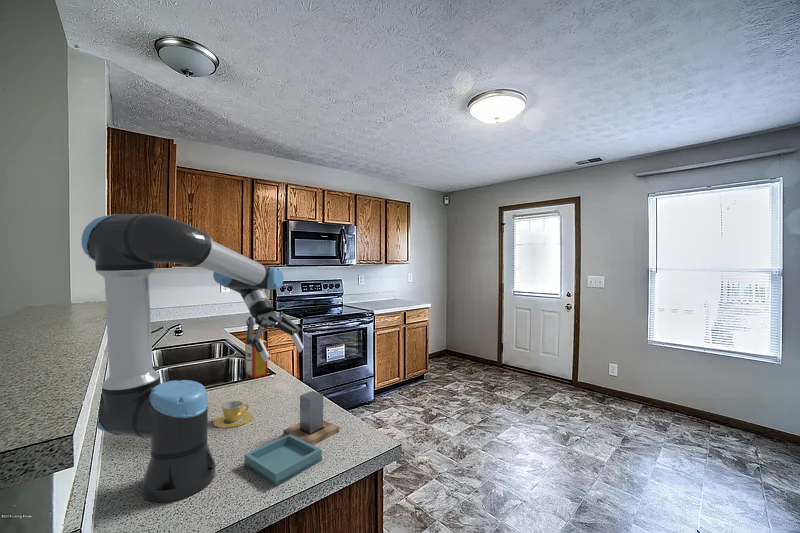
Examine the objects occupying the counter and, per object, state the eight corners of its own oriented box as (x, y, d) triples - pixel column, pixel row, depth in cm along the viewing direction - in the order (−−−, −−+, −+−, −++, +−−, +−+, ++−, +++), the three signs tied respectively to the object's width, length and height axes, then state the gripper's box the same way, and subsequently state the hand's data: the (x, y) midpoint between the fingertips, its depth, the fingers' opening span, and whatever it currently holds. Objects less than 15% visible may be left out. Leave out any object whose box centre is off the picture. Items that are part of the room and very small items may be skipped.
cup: (218, 432, 111) (218, 415, 111) (209, 419, 120) (209, 403, 120) (257, 421, 119) (257, 405, 119) (246, 409, 128) (245, 394, 128)
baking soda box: (267, 375, 164) (267, 341, 164) (253, 378, 160) (252, 343, 159) (259, 370, 171) (259, 337, 171) (245, 373, 167) (245, 339, 166)
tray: (276, 486, 85) (276, 474, 85) (244, 465, 93) (244, 454, 93) (321, 460, 96) (321, 449, 96) (289, 443, 105) (289, 433, 105)
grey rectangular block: (310, 439, 108) (310, 399, 107) (299, 434, 111) (299, 395, 110) (323, 432, 112) (323, 394, 111) (312, 427, 114) (312, 390, 114)
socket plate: (308, 447, 103) (308, 442, 103) (283, 434, 110) (283, 430, 110) (339, 431, 112) (339, 426, 112) (314, 420, 119) (314, 416, 119)
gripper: (284, 308, 140) (309, 352, 132) (221, 317, 120) (246, 370, 112) (292, 295, 137) (318, 340, 129) (229, 302, 117) (255, 356, 109)
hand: (285, 354), depth 120 cm, fingers open, 13 cm apart
